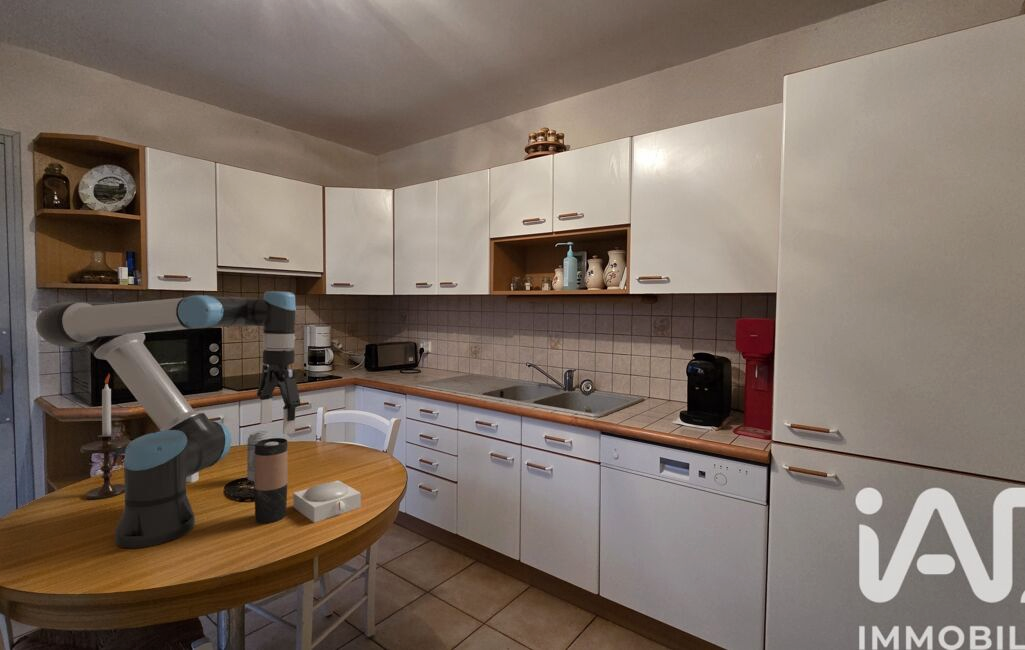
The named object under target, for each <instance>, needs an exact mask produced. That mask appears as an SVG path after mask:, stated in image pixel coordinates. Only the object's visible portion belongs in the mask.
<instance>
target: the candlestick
mask: <svg viewBox="0 0 1025 650" xmlns="http://www.w3.org/2000/svg"><path fill="white" fill-rule="evenodd" d="M110 377H111V375H110V374H108V375H107V376H106V378H105V380H104V384H105V385H104V388H102V389H101V395H102V396H101V412H102V414H101V419H102V421H101V423H102V424H101V426H102V428H101V429H102V430H101V432H102V434H99V435H97V437H98V438H101V440H98V441H94V442H89V443H85V444H84V445H81V446H80V453H83V454H102V455H103V465H101V466H100V468H99V470H100V471H101V472H102V475H101V476H100V478H101V479H103V484H102V485H101V486H98V487H95V488H92V489H90V490H88V491H87V492H85V494H84V495H85V499H86V500H92V501H93V500H105V499H109V498H114V497H117V496H120V495H123V494H125V483H115V484H114V483H113V484H112V483H111V477H113V474H112V473H111V471H112V470H113V469H114V466H113V464H111V453H113V452H115V451H121V450H124V449H126V447H127V446H128V444H129V443H130V442H132V439H128V438H112V436H115V435H116V434H117V433H113V432H112V388H110V387H109V380H110Z"/></svg>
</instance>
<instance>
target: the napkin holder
mask: <svg viewBox="0 0 1025 650" xmlns="http://www.w3.org/2000/svg"><path fill="white" fill-rule="evenodd" d="M196 481H199V472H197V473H195V474H193V475H191V476H188V477H186V483H194V482H196Z"/></svg>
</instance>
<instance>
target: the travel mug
mask: <svg viewBox="0 0 1025 650" xmlns="http://www.w3.org/2000/svg"><path fill="white" fill-rule="evenodd" d="M253 485H254V490H253V491H254V515H255V516H254V517H255V523H256V522H257V523H258V524H271V523H276V522H279V521H281V520H283V519H285V517H286V515H287V505H288V504H287V501H288V498H287V497H288V439H286V438H281V437H273V438H272V437H271V438H270V437H269V439H264V440H261V441H258V443H257V444H255V478H254V483H253Z"/></svg>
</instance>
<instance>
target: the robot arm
mask: <svg viewBox="0 0 1025 650" xmlns="http://www.w3.org/2000/svg"><path fill="white" fill-rule="evenodd" d="M296 311H297V307H296V294H294V293H293V292H291V291H290V292H289V291H274V290H273V291H272V290H271V291H269V290H267V291H265V292H264V293H263V297H262V298H258V297H257V298H256V297H239V296H216V295H208V294H207V295H206V294H198V295H190V296H187V297H179V298H168V299H166V298H165V299H155V300H145V301H134V302H123V303H121V302H114V301H103V302H96V301H95V302H94V301H93V302H92V301H91V302H90V301H62V302H61V301H60V302H57V303H53V304H51V305H48V306H47V307H45V308H44V309H43V310H41V312H39V314H38V315H37V318H36V319H35V320H36V321H35V328H36V331H37V333H38V335H40V337H41V338H42V339H43V340H45V342H47V343H49V344H51V345H54V346H57V347H62V348H82V347H83V348H84V347H87V348H88V349H89V351H90V352H91V353H92V355H93V356H94V357H95V358H96V359H98V360H105V361H107V363H109V365H110V366H111V368H112V369H113V370H114V372H115V373H116V374H117V376H118V377H119V378H120V379H121V381H122V382H123V383H124V385H125V386H126V388H128V390H129V391H130V393H131V394H132V395H133V396H134V398H135V399H136V401H137V402H138V403H139V404H140V406H141V407H142V408H143V410H144V411H145V412H146V414H147V415H148V416H149V418H151V420H152V422H153V423H154V424H155V425H156V426H157V428H158V429H159V431H156V432H150V433H147V434H144V435H141V436H138V437H137V438H135V439H133V440H131V442H130V443H129V444H128V446H127V447H126V448H125V451H124V459H123V465H124V466H123V469H124V471H123V472H124V477H123V478H124V485H125V492H124V508H123V510H122V513H121V516H120V518H119V521H118V523H117V525H116V527H115V528H116V529H115V530H114V531H115V532H114V544H115V545H116V546H118V547H120V548H127V549H138V548H139V549H140V548H146V547H151V546H156V545H160V544H164V543H167V542H170V541H172V540H175V539H178V538H180V537H182V536H184V535H185V534H187V533H188V532H190V531H191V530H192V529H193V528H194V527H195V524H196V520H195V519H196V518H195V517H196V515H195V513H194V512H195V511H194V510H193V508H192V505H191V503H190V501H189V498H188V496H187V482H186V477H188V476H191V475H193V474H195V473H197V472H198V473H199V472H201V471H203V470H206V469H208V468H210V467H213V466H214V465H215V464H217V463H218V462H221V460H223V459H224V458H225V457H226V456H227V455H228V453H229V451H230V450H231V444H232V437H231V433H230V430H229V428H228V427H227V426H226V425H225V424H224V423H222V422H220V421H215V420H210V418H209V417H208V416H207V415H206V413H204V412H203V411H197V410H194V409H193V408H192V406H191V405H190V403H189V402H188V401H187V399H186V398H185V397H184V396H183V394H182V393H181V392H180V390H179V389H178V388H177V386H176V385H175V384H174V382H173V381H172V379H171V378H170V377H169V376H168V374H167V372H165V371H164V369H163V368H162V367H161V365H160V364H159V363H158V361H157V360H156V358H154V356H153V355H152V353H151V352H150V351H149V349H148V348H147V346H146V345H145V344H144V342H145V340H146V335H145V333H157V332H167V331H168V332H169V331H178V330H179V331H181V330H190V329H193V330H194V329H204V328H205V329H206V328H217V327H218V328H219V327H239V326H240V327H241V326H243V327H249V326H250V327H263V331H262V332H263V333H262V349H263V348H264V350H263V351H262V372H261V376H260V381H259V384H258V386H257V387H258V388H257V393H256V396H257V397H259V400H260V421H259V422H260V423H259V424H260V425H263V424H270V423H272V421H273V399H274V397H273V393H274V391H275V390H276V387H278V388H279V391H280V395H281V397H282V401H283V404H284V405H283V407H282V410H283V419H282V420H283V421H282V434H283V435H287V434H291V433H292V434H293V433H295V432H296V409H297V408H298V407H300V406H301V398H300V394H299V389H298V383H297V379H296V370H295V368H291V369H290V368H289V365H292V364H294V363H295V350H294V348H295V340H296V336H295V335H296V333H295V332H296V329H295V328H296V327H295V326H296Z"/></svg>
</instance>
